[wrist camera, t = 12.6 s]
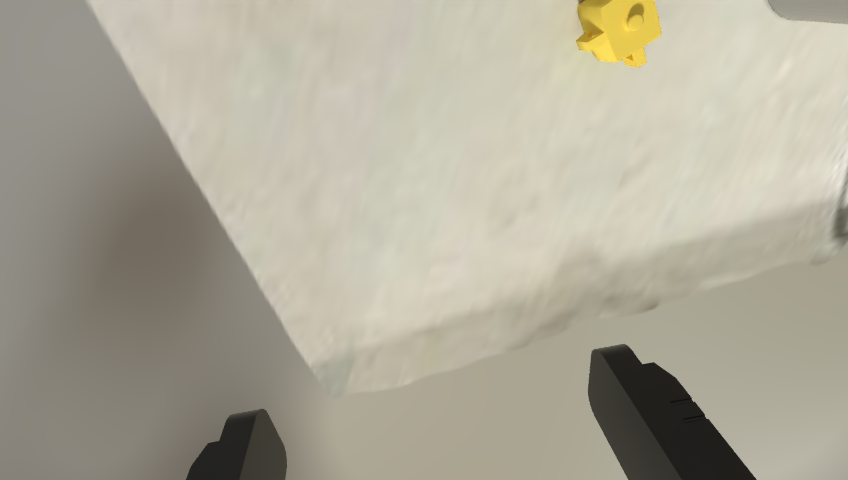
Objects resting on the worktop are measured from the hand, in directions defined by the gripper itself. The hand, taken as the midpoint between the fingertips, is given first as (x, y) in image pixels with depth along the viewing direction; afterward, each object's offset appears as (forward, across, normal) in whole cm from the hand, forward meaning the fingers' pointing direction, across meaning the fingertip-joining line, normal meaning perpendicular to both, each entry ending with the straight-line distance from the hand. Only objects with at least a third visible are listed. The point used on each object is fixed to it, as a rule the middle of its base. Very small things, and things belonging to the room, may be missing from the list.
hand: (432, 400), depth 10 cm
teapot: (+32, -19, -4) cm, 38 cm away
